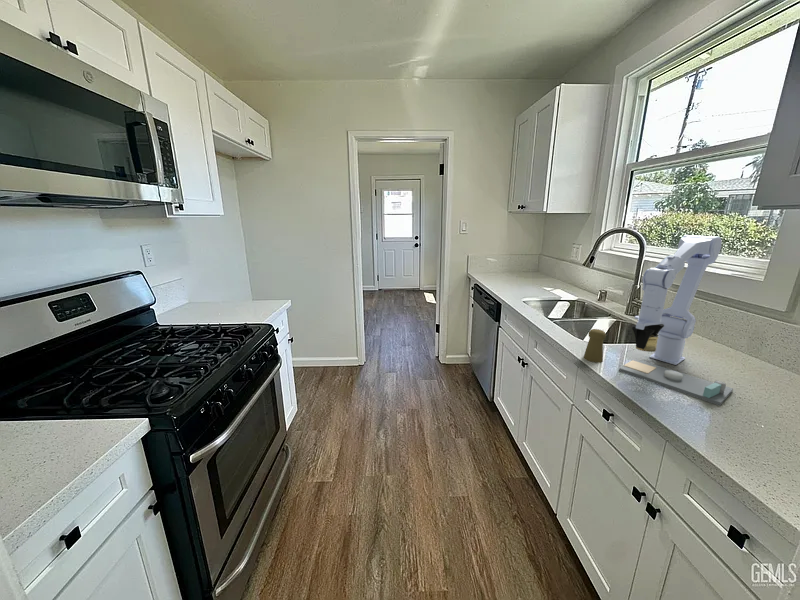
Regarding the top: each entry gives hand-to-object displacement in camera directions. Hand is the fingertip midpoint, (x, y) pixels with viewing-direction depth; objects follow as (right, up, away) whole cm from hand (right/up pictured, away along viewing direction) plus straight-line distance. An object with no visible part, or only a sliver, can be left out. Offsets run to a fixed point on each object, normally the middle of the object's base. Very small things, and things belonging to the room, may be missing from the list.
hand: (644, 345), depth 108 cm
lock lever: (+9, -11, -15) cm, 21 cm away
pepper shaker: (-11, -6, +10) cm, 16 cm away
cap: (0, -1, 0) cm, 1 cm away
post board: (+5, -10, -5) cm, 12 cm away
